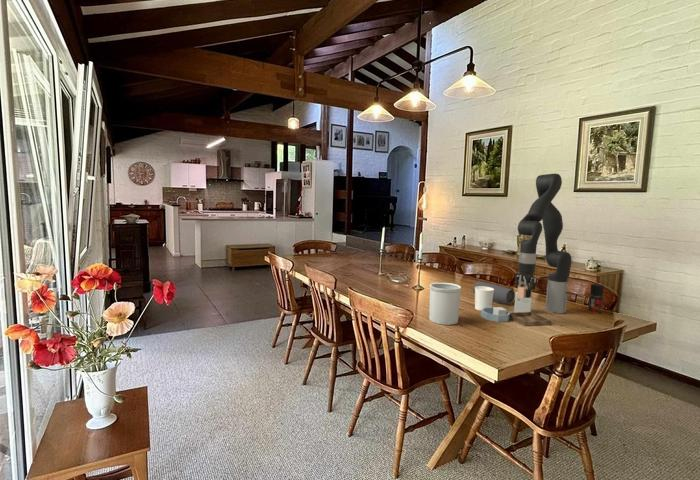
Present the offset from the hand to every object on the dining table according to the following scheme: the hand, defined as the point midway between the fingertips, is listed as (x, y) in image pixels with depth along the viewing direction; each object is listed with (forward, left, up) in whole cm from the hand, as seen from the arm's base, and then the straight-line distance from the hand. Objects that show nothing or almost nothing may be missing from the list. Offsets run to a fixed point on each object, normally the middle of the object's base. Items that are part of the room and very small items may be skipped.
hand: (524, 296), depth 184 cm
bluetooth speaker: (-7, -37, -13) cm, 40 cm away
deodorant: (-53, -11, -13) cm, 56 cm away
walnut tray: (-3, 0, -13) cm, 14 cm away
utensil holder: (+39, -7, -13) cm, 42 cm away
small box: (-10, -14, -13) cm, 22 cm away
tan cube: (0, 0, 0) cm, 0 cm away
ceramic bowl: (+11, -6, -13) cm, 18 cm away
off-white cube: (+8, -6, -13) cm, 16 cm away
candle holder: (+9, -21, -13) cm, 26 cm away
